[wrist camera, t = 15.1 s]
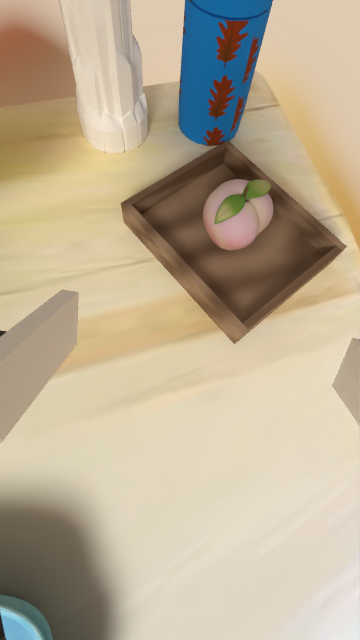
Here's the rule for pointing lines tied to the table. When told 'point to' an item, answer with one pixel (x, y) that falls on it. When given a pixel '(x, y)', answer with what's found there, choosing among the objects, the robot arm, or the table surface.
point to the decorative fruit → (238, 212)
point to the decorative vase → (106, 73)
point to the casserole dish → (23, 620)
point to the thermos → (218, 65)
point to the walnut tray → (229, 265)
